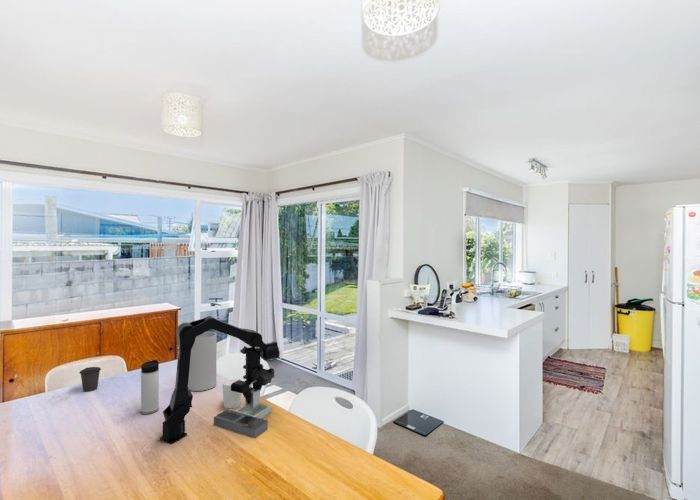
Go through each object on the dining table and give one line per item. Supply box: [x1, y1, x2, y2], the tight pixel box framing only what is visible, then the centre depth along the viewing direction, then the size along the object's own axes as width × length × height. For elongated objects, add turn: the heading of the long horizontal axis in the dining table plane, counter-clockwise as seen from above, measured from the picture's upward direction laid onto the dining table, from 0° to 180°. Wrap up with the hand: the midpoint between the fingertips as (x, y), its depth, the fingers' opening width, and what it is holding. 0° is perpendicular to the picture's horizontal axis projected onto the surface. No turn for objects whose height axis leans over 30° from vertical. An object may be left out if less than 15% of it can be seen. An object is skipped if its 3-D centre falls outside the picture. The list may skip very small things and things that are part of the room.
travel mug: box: [140, 359, 160, 415], centre depth 141 cm, size 6×7×20 cm
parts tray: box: [235, 402, 272, 419], centre depth 138 cm, size 10×10×3 cm
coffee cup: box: [78, 366, 102, 393], centre depth 162 cm, size 8×8×10 cm
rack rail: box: [213, 408, 269, 439], centre depth 129 cm, size 7×20×3 cm, turn 64°
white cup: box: [221, 377, 243, 409], centre depth 147 cm, size 8×8×10 cm
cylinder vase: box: [188, 331, 218, 392], centre depth 166 cm, size 12×12×25 cm
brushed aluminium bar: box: [244, 388, 261, 413], centre depth 138 cm, size 4×4×8 cm
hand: (252, 401), depth 138 cm, fingers closed on brushed aluminium bar, 4 cm apart
